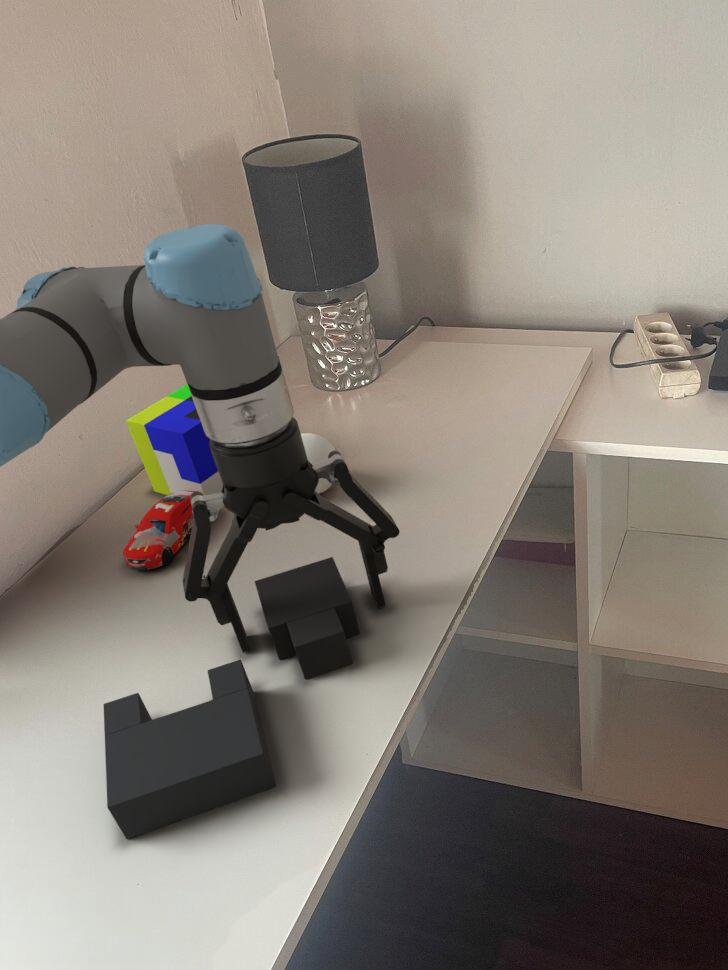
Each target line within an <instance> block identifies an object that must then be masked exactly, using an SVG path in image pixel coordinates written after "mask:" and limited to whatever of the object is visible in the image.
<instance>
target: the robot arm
mask: <svg viewBox="0 0 728 970" xmlns="http://www.w3.org/2000/svg"><path fill="white" fill-rule="evenodd" d="M142 257H143V262H144V264H138V265H120V266H119V265H118V266H117V265H116V266H98V267H85V266H78V267H76V266H67V267H62V268H61V269H59V270H53V271H45V272H41V273H37V274H35V275H34V276H32V277H31V278H29V279H28V280H27V281H26V282H25V284H24V285H23V290H22V292H21V295H20V296H19V298H18V299H17V301H16V309H14V310H13V311H12V312H10V313H8V314H7V315H5V316H3V317H2V318H0V468H1V467H2V466H4V465H6V464H8V462H10V461H12V460H14V459H15V458H17V457H18V456H19V455H21V454H24V452H26V451H28V450H30V449H32V448H33V447H35V446H36V445H38V444H39V443H40V442H41V441H42V440H43V439H44V437H45V436H46V434H47V433H48V432H50V430H52V428H54V427H55V426H56V425H57V424H58V423H60V422H61V420H63V419H64V418H65V417H66V416H68V415H69V414H70V413H71V412H73V411H74V410H75V409H76V408H77V407H78V406H79V405H81V404H83V403H84V402H86V401H87V400H88V399H90V398H91V397H92V396H93V395H95V393H97V392H98V391H99V390H100V389H102V388H103V387H104V386H106V385H107V384H108V383H110V381H112V380H113V379H114V378H116V377H117V376H118V375H119V374H120V373H122V371H124V370H127V369H130V368H136V367H137V368H139V367H164V366H165V367H167V366H174V365H178V366H180V369H181V371H182V373H183V376H184V379H185V382H186V385H188V386H189V389H190V393H191V396H192V398H193V401H194V404H195V407H196V409H197V412H198V415H199V418H200V421H201V423H202V426H203V429H204V432H205V434H206V436H207V437H208V438H210V441H209V446H210V449H211V452H212V455H213V458H214V461H215V463H216V466H217V469H218V472H219V475H220V477H221V480H222V483H223V488H222V492H221V493H216V494H210V495H205V496H204V495H203V493H201V492H199V491H196V492H193V493H192V494H191V496H190V500H191V505H192V510H193V514H194V519H193V525H192V531H191V536H190V537H189V542H188V549H187V553H186V554H187V555H186V560H185V565H184V571H183V576H182V586H183V587H182V588H183V593H184V598H185V600H186V601H187V602H191V603H192V602H196V601H197V600H199V599H204V600H207V601H208V602H209V604H210V606H211V609H212V611H213V614H214V617H215V619H216V622H217V623H218V624H219V625H220V626H224V625H227V624H231V626H232V629H233V631H234V634H235V636H236V639H237V642H238V644H239V646H240V650H241V651H242V653H243V654H244V653H246V652H249V651H251V646H250V643H249V637H248V636H247V631H246V629H245V627H244V624H243V621H242V619H241V616H240V613H239V611H238V607H237V606H236V603H235V600H234V598H233V595H232V593H231V589H230V587H229V585H228V582H229V581H230V580H231V578H232V575H233V573H234V571H235V569H236V567H237V565H238V563H239V561H240V559H241V558H242V556H243V553H244V551H245V549H246V547H247V545H248V544H249V543H250V542H252V540H253V539H254V537H255V535H256V532H257V531H258V529H265V531H270V530H273V529H275V528H277V527H279V526H280V525H282V524H293V523H297V522H299V521H300V518H301V517H303V516H304V515H307V516H308V517H311V518H312V519H313V520H316V521H322V522H323V523H324V524H327V525H329V526H331V528H334V529H335V530H337V531H339V532H341V533H343V534H345V535H347V536H348V537H350V538H352V539H354V540H355V541H357V542H358V546H359V549H360V553H361V557H362V562H363V565H364V566H363V567H364V570H365V574H366V577H367V578H366V579H367V581H368V585H369V589H370V593H371V595H372V597H373V599H374V602H375V604H376V606H377V607H378V609H380V608H383V607H386V606H387V605H386V601H385V596H384V592H383V588H382V585H381V580H380V575H382V574H385V573H387V572H388V568H389V567H388V562H387V558H386V553H385V549H386V546H385V545H386V544H385V542H386V541H387V540H389V539H395V538H397V537H399V535H400V529H399V527H398V524H397V523H396V522H395V520H394V518H393V516H392V515H391V514H390V513H389V512H388V511H387V510H386V509H385V508H384V507H383V506H382V504H381V503H379V502H378V500H377V499H376V498H374V496H373V495H372V494H371V493H370V492H369V491H368V490H367V489H366V488H365V487H364V486H363V484H361V483H360V482H359V480H357V478H355V477H354V476H353V474H351V472H350V469H349V467H348V465H347V464H346V461H345V458H344V457H343V455H342V454H341V453H340V451H338V450H336V451H332V452H330V453H329V455H328V459H327V460H325V461H322V462H320V463H317V464H315V465H312V464H311V463H310V462H309V461H308V459H307V455H306V451H305V448H304V444H303V441H302V437H301V434H302V433H301V430H300V427H299V423H298V421H297V419H296V418H295V417H294V415H295V410H294V405H293V402H292V398H291V395H290V391H289V388H288V384H287V380H286V377H285V374H284V370H283V366H282V364H281V361H280V356H279V355H278V352H277V351H278V350H277V347H276V343H275V340H274V336H273V331H272V328H271V323H270V320H269V317H268V312H267V309H266V305H265V301H264V297H263V295H264V293H263V286H262V283H261V280H260V278H259V277H258V275H257V272H256V269H255V266H254V263H253V260H252V258H251V254H250V252H249V248H248V246H247V244H246V241H245V239H244V237H243V236H242V234H241V233H240V231H238V230H236V229H234V228H233V227H231V226H228V225H224V224H217V223H216V224H215V223H214V224H213V223H212V224H198V225H195V226H192V227H188V228H187V227H186V228H179V229H175V230H172V231H169V232H167V233H164V234H162V235H160V236H157V237H155V238H153V239H152V240H151V241H150V242H149V243H148V244H146V246H145V248H144V251H143V256H142ZM320 478H325V479H327V480H328V481H329V483H331V484H332V485H338V484H339V487H340V488H341V489H342V491H343V492H344V493H345V494H346V495H347V496H348V497H349V498H350V499H351V500H352V501H353V502H354V503H355V504H356V506H357V507H359V508H360V509H361V510H362V512H364V513H365V514H366V516H367V517H369V519H370V520H371V521H372V522H374V525H372V524H370V523H368V522H366V521H365V520H363V519H361V518H359V517H357V516H356V515H354V514H353V513H351V512H349V511H348V510H346V509H344V508H342V507H340V506H339V505H336V504H335V503H334V502H332V501H330V500H328V499H327V498H324V497H323V496H322V495H321V493H319V494H318V493H317V492H316V491H315V489H316V487H317V485H318V482H319V479H320ZM223 508H225V509H226V510H227V511H229V512H231V514H232V513H233V514H234V515H233V517H232V521H231V525H230V528H229V529H228V532H226V533H227V534H226V536H225V537H224V539H223V541H222V543H221V545H220V547H219V550H218V551H217V553H216V556H215V558H214V560H213V561H212V563H211V565H210V568H209V569H208V571H207V573H206V575H205V574H204V572H205V566H206V561H207V556H208V552H209V551H208V549H209V545H210V540H211V535H212V534H211V533H212V525H211V523H213V522H215V521H216V520H217V519H218V517H219V512H220V511H221V509H223Z"/></svg>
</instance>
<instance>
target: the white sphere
mask: <svg viewBox="0 0 728 970" xmlns="http://www.w3.org/2000/svg"><path fill="white" fill-rule="evenodd" d="M301 437H302V441H303V444H304V448H305V451H306V455H307V459H308V461H309V462H310V463H311V464H312V465H315V464H317V463H320V462H322V461H325V460H327V459H328V455H329V453H330V452H332V451H337V450H336V448H335V446H333V444H332V443H330V441H328V440H327V438H325V437H323V436H321V435H319V434H317V433H313V432H312V433H311V432H305V433H301ZM361 454H362V453H361V452H359V453H356V454H351V455H348V456H345V457H343V459H347V458H349V457H353V456H358V455H361ZM332 485H333V484H331V483H329V481H328V480H327V479H325V478H320V479H319V482H318V485H317V487H316V489H315V491H316V492H317V493H318V494H322V493H325V491H327V490H329V488H331V487H332Z"/></svg>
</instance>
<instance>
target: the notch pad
mask: <svg viewBox="0 0 728 970" xmlns="http://www.w3.org/2000/svg"><path fill="white" fill-rule="evenodd" d="M207 675H208V681H209V686H210V687H209V688H210V693H211V696H212V699H211V700H208V701H205V702H202V703H199V704H195V705H192V706H189V707H186V708H184V709H181V710H178V711H175V712H172V713H168V714H165V715H163V716H160V717H157V718H154V719H153V718H152V717H151V715H150V712H149V711H148V709H147V707H146V705H145V703H144V700H143V699H142V697H141V695H140V693H139V692H136V693H133V694H130V695H126V696H124V697H120V698H118V699H114V700H111V701H109V702H105V703H103V726H104V727H103V728H104V729H103V730H104V754H105V756H104V757H105V779H106V780H105V781H106V782H105V783H106V805H107V810H108V811H109V813H110V815H111V816H112V817H113V819H114V821H115V823H116V824H117V827H118V828H119V829H120V831H121V833H122V834H123V836H124V838H125V839H126V840H129V839H133V838H134V837H135V838H136V837H137V836H141V835H143V834H146V833H149V832H151V831H155V830H157V829H160V828H163V827H166V826H168V825H171V824H174V823H177V822H181V821H183V820H185V819H189V818H191V817H194V816H197V815H199V814H203V813H205V812H208V811H211V810H213V809H216V808H219V807H222V806H225V805H227V804H230V803H233V802H236V801H239V800H241V799H244V798H248V797H250V796H252V795H255V794H258V793H262V792H264V791H267V790H270V789H273V788H275V787H277V783H276V782H277V781H276V777H275V773H274V770H273V766H272V762H271V758H270V754H269V750H268V746H267V741H266V737H265V734H264V730H263V726H262V721H261V717H260V713H259V709H258V704H257V701H256V697H255V693H254V689H253V687H252V684H251V681H250V679H249V677H248V674H247V671H246V669H245V666H244V663H243V662H242V659H237V660H234V661H232V662H229V663H225V664H222V665H219V666H216V667H213V668H210V669H207Z"/></svg>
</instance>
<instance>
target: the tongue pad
mask: <svg viewBox="0 0 728 970" xmlns="http://www.w3.org/2000/svg"><path fill="white" fill-rule="evenodd" d="M254 584H255V588H256V592H257V595H258V598H259V602H260V606H261V609H262V613H263V615H264V619H265V622H266V623H265V624H266V626H267V629H268V632H269V635H270V637H271V640H272V643H273V646H274V649H275V652H276V655H277V658H278V660H279V661H281V660H284V659H287V658H291V657H294V656H296V657H297V660H298V663H299V666H300V669H301V672H302V675H303V678H304V679H305V680H308V679H310V678H314V677H316V676H319V675H323V674H326V673H328V672H331V671H334V670H337V669H340V668H344V667H346V666H349V665H352V664H354V661H353V658H352V654H351V651H350V647H349V644H348V640H347V639H348V638H351V637H354V636H357V635H360V634H361V630H360V626H359V622H358V618H357V616H356V615H357V614H356V612H355V607H354V604H353V600H352V598H351V596H350V593H349V591H348V589H347V587H346V584H345V582H344V580H343V578H342V575H341V572H340V571H339V568H338V566H337V564H336V561H335V559H334V557H333V556H331V557H328V558H324V559H321V560H318V561H314V562H311V563H308V564H305V565H302V566H299V567H295V568H293V569H292V568H291V569H288V570H286V571H282V572H280V573H276V574H273V575H269V576H266V577H263V578H260V579H257V580H254Z"/></svg>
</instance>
